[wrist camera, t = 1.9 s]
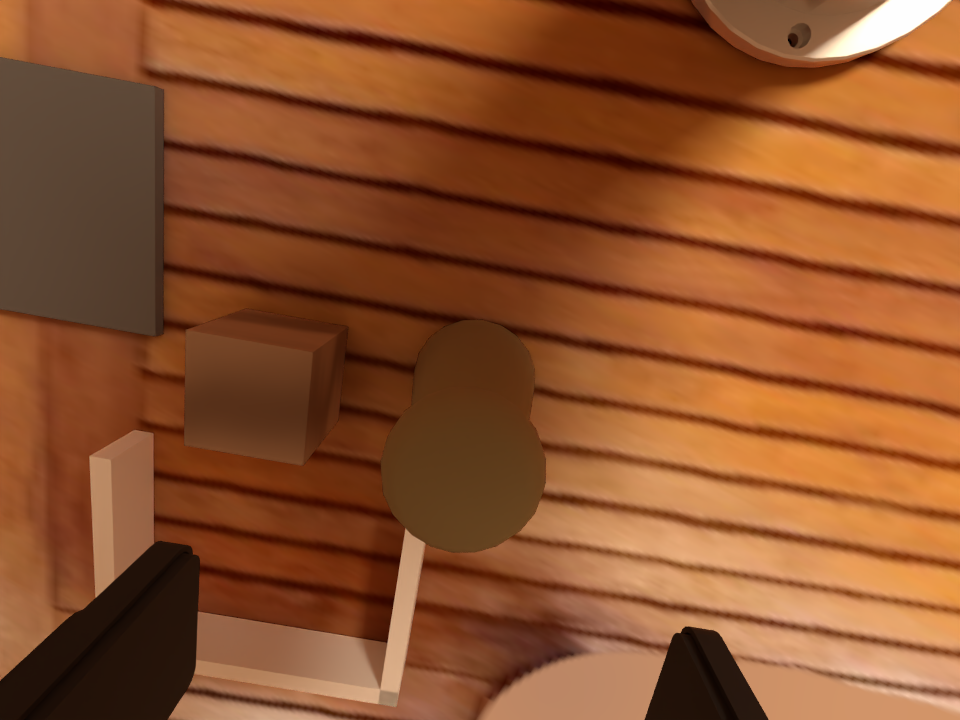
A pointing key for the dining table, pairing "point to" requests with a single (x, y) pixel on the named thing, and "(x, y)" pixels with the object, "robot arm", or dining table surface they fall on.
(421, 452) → the cork
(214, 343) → the walnut block
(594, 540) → the dining table surface
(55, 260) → the mat
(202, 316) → the dining table surface
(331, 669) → the tray
